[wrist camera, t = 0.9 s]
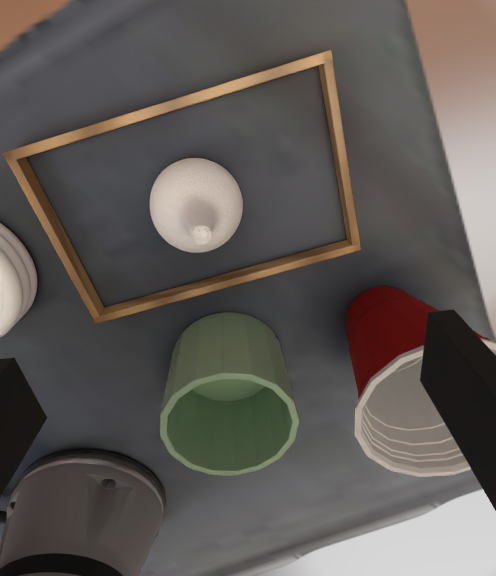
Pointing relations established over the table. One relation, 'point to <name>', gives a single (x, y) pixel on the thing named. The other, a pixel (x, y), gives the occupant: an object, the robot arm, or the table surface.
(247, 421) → the cup
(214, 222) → the garlic bulb
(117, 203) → the table surface
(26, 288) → the coaster
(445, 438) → the plastic cup
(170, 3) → the table surface
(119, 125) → the frame
